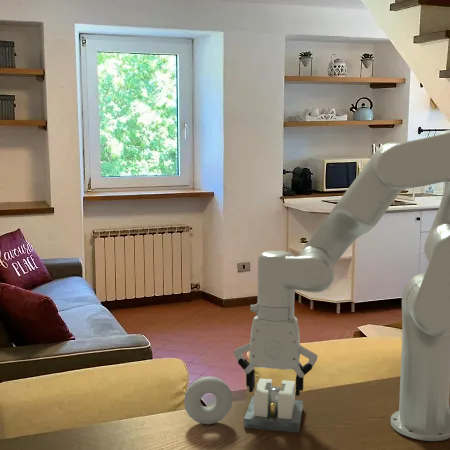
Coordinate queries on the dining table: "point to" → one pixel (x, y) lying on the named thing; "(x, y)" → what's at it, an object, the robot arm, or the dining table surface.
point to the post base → (274, 415)
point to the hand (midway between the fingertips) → (274, 391)
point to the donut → (201, 388)
